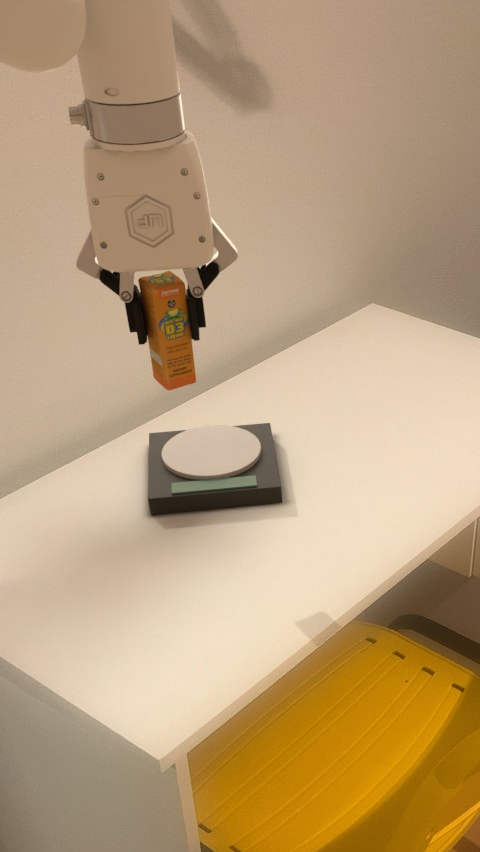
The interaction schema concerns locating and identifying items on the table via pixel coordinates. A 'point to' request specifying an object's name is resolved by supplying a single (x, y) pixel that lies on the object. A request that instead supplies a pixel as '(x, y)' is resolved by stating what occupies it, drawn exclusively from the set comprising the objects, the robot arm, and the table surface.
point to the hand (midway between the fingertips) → (169, 334)
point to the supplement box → (168, 329)
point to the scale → (212, 468)
